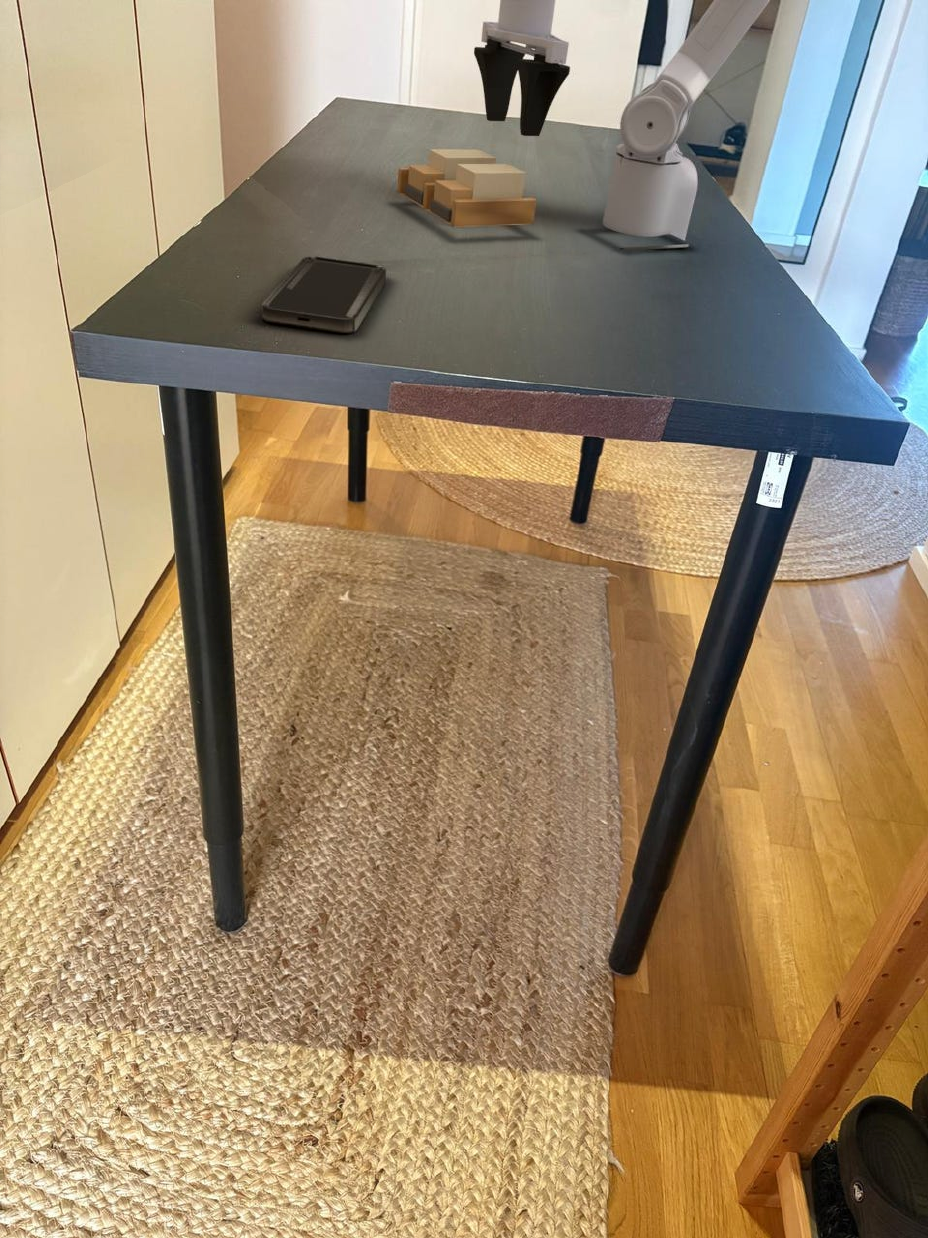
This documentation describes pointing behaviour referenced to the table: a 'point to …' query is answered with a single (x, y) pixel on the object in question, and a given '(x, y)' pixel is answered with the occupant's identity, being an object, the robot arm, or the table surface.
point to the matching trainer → (441, 169)
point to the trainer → (477, 186)
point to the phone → (325, 295)
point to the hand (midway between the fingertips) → (512, 127)
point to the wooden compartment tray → (477, 207)
